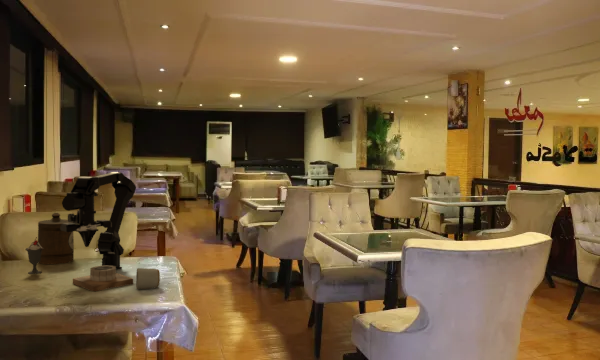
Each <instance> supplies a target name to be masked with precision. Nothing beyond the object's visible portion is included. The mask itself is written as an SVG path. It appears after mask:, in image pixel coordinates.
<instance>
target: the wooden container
mask: <svg viewBox="0 0 600 360" xmlns="http://www.w3.org/2000/svg"><path fill="white" fill-rule="evenodd" d="M51 217H52V218H50V219H46V220H45V219H44V220H39V221H38V223H37V226H38V227H37V229H38V230H37V241H38V243H39V244H40V246H41V247H42V248H44V249H43V250H42V252H41V259H40V262H39V263H38V264H43V265H59V264H61V265H62V264H67V263H71V262H73V261H74V260H75V259H74V257H75V256H74V253H75V252H74V247H75V245H74V243H75V241H74V240H75V239H74V231H72V232H65V231H61V229H60V226H61V225H62V223H73V222H68V219H64V218H61V214H60V213H59V212H54V213H52V214H51Z"/></svg>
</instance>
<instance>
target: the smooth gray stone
mask: <svg viewBox="0 0 600 360" xmlns="http://www.w3.org/2000/svg"><path fill="white" fill-rule="evenodd" d="M108 269H110V267H98V268H96V270H108Z"/></svg>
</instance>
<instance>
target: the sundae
mask: <svg viewBox="0 0 600 360" xmlns="http://www.w3.org/2000/svg"><path fill="white" fill-rule="evenodd" d="M43 249H44V248H42V247H41V246H40V244H39V243H38V236H37V237H35V239H34V241H33V242H31V244H30V245H29V246H28V247H27V248H25V251H27V256H28V263H30V264H31V265H32V269H31V271H29V272H28V273H27V274H29V275H38V274H41V273H42V271H40V270H38V269H37V265H38V264H40V263H39V262H40V259H41V252H42V250H43Z"/></svg>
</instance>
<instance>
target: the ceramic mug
mask: <svg viewBox="0 0 600 360" xmlns="http://www.w3.org/2000/svg"><path fill="white" fill-rule="evenodd" d="M160 274H161V273H160V270H159V269H158V268H147V267H146V268H144V267H143V268H142V267H141V268H140V267H138V268H136V277H135V280H136V281H135V286H136V290H147V289H150V290H151V289H152V290H153V289H157V288H159V287H160V282H161V279H160V278H161V275H160Z"/></svg>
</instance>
